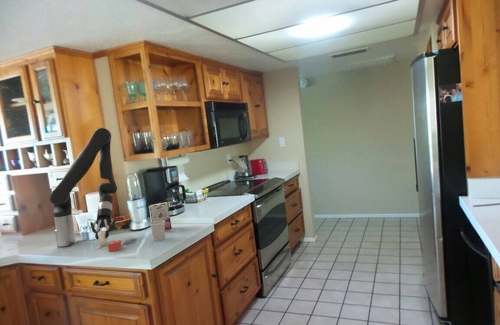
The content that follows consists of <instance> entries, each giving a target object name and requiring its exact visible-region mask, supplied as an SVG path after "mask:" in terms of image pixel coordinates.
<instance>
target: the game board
mask: <svg viewBox="0 0 500 325" xmlns="http://www.w3.org/2000/svg"><path fill="white" fill-rule="evenodd" d="M138 239H139V238H138V237H137V238H136V237H135V238H131V239H126V240H125V239H123V240H121V247H122V246H123V247H124V246H130V245H134V244H136V243H137V241H138ZM110 242H111V241H109V242H108V241H107V244H109V243H110ZM107 248H108V245H107V246H104V247H100V245H99V244H98V246H96V247H95V249H94V250H95V251H96V250H103V249H107ZM108 249H109V248H108Z"/></svg>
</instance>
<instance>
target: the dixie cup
mask: <svg viewBox="0 0 500 325" xmlns="http://www.w3.org/2000/svg"><path fill="white" fill-rule="evenodd" d="M149 226H150V229H151V233H152V236H153V240H154V242H162V241H164V240H165V239H166V230H165V221H164V220H158V221H153V222H151V221H150V222H149Z"/></svg>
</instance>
